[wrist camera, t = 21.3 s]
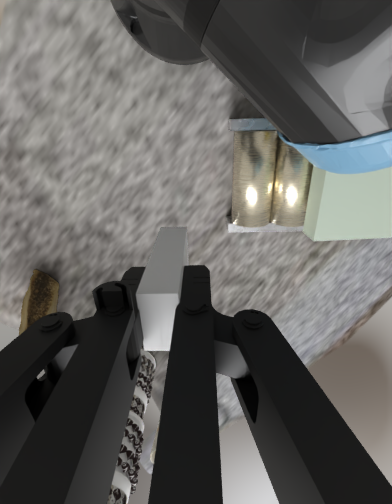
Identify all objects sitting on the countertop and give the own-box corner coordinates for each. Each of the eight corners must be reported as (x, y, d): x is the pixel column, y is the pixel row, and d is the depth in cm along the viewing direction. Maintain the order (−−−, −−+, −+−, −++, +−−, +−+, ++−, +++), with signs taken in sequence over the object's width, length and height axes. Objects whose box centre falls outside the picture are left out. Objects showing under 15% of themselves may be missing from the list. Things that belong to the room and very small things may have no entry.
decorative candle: (148, 384, 54) (111, 570, 32) (104, 370, 53) (32, 555, 30) (165, 355, 50) (136, 542, 28) (118, 338, 49) (48, 523, 26)
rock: (62, 346, 47) (87, 317, 42) (6, 367, 40) (29, 336, 35) (39, 295, 50) (59, 263, 45) (-17, 306, 43) (1, 270, 38)
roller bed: (228, 119, 33) (233, 119, 28) (357, 115, 32) (382, 114, 28) (226, 223, 39) (229, 237, 34) (334, 222, 38) (351, 235, 34)
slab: (319, 125, 28) (334, 125, 25) (448, 121, 28) (476, 121, 26) (302, 231, 33) (313, 241, 31) (411, 226, 34) (431, 235, 31)
